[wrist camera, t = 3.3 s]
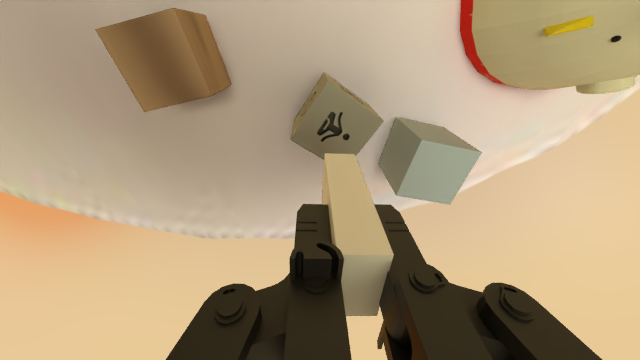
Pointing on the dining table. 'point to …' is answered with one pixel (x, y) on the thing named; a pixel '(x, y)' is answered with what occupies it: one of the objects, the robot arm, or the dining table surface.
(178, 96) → the walnut block
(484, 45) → the kitchen timer
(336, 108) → the dice cube
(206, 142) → the dining table surface
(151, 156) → the dining table surface
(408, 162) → the slate block
